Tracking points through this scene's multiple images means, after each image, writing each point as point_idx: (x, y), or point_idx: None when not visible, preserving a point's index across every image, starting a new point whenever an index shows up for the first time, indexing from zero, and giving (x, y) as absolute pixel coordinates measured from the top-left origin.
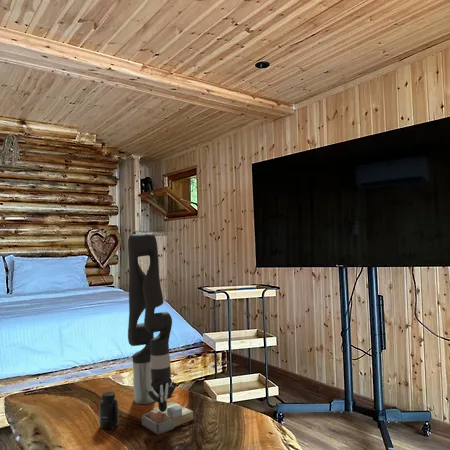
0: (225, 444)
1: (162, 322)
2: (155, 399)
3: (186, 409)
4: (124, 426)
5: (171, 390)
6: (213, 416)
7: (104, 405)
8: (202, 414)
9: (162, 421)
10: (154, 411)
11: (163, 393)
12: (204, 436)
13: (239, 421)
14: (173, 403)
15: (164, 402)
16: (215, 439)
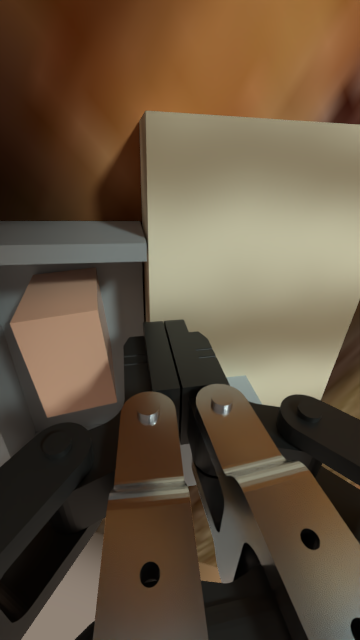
0: (202, 558)
1: None
2: (21, 559)
3: (316, 383)
4: None
5: None
6: (356, 414)
7: None
8: (356, 369)
9: (130, 326)
10: (56, 362)
11: (228, 551)
12: (194, 513)
13: (353, 485)
14: None
15: (184, 437)
16: (204, 535)
